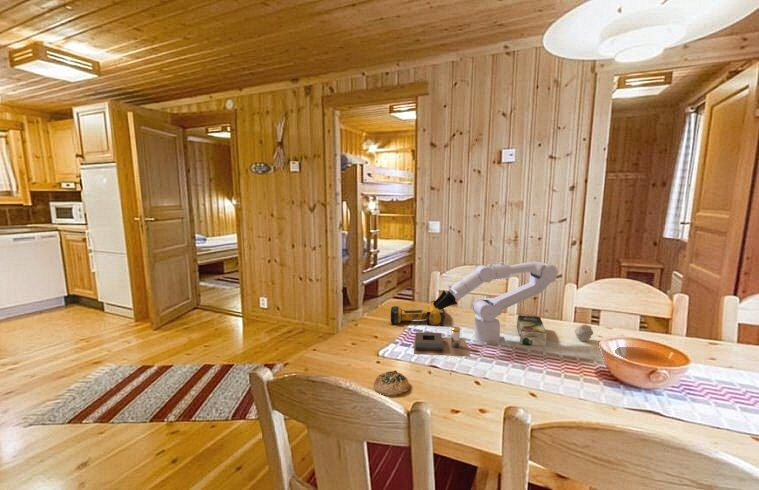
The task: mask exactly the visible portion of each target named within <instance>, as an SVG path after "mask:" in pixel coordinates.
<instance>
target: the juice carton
mask: <svg viewBox="0 0 759 490" xmlns="http://www.w3.org/2000/svg"><path fill="white" fill-rule="evenodd" d="M516 328H517V333H518V336H519V342H520V344H521V345H531V346H535V345H536V346H537V347H538V346H539V347H545V346H546V347H547V340H548V339H547V335H548V334H547V332H546V329H545V326H544V322H543V321H542V318H541V317H540V316H533V315H522V314H518V316H517V321H516Z"/></svg>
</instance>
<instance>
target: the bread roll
mask: <svg viewBox="0 0 759 490" xmlns="http://www.w3.org/2000/svg"><path fill="white" fill-rule="evenodd" d="M410 388H411V386H410V383H409V380H408V378H407V377H406V376H405V375H404V374H403V373H400V372H398V371H397V370H389V371H386V372H384V373H381V374H380V375H378V376H377V377H376V379H375V380H374V382H373V389H374V390H375V392H376V393H377V392H378V393H377V394H379V393H381V394H383V395H382V396H390V397H391V396H393V397H394V396H399V395H402V394H403V393H406V392H407V391H408V390H409V389H410Z"/></svg>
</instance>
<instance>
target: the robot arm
mask: <svg viewBox="0 0 759 490" xmlns="http://www.w3.org/2000/svg"><path fill="white" fill-rule="evenodd" d="M524 273H525V274H526V273H529V281H528V282H527V283H525V284H523V285H521V286H519V287H515V288H514V289H510V291H509V290H508V291H507V292H505V293H503V294H500V295H498V296H496V297H487V298H484V299H483V298H482V299H476V300H474V302H473V304H472V311H473V313H475V315H474V330H473V331H474V335H473V336H474V340H476V341H479V342H481V343H482V342H484V343H488V342H489V343H490V342H500V335H501V326H500V325H501V324H500V321H499V319H497V317H498V316H501V315H502V311H503V310H505V309H507V308H510V307H512V306H514V305H516V304H518V303H520V302H523V301H525V300H528V299H530V298H532V297H535V296H536V295H539V294H541V293H542V292H544V290H545V289H546V288H547V287H548V286H549V285H550V284H551V283H553V282H556V280H557V277H558V267H556V265H553V264H549V263H545V262H543V261H540V260H535V261H534V260H532V261H528V262H522V263H517V264H510V265H509V264H507V263H505V262H503V261H500V262H498V263H495V264H490V263H488V264H487V265H486V266H485V265H483V264H481V265H476V266H475V267H474V268H473V271H472V272H470V273H469V274H467V275H466V276H465V277H463V278H462V279H460V280H459V281H458V282H456V283H455V284H453V285H452V286H451V284H447V287H448V291H446V290H442V291H441V293H440V295H439V296H438V297H437V299H436V300H434V301H435V302H434V303H433V305H434V306H435V308H438V310H441V309H443V308H444V309H445V308H447V307H451V306H455V305H458V302H459V301H460V300H461V299H462V298H464V297H465V296H466V295H468V294H470V293H471V292H472V291H474V290H475V289H477V288H478V287H480V286H481V285H483V284H484V283H491V282H492V281H494V280H499V279H508V278H509V277H510V276H511V275H513V274H514V275H515V274H524Z"/></svg>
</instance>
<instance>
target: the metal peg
mask: <svg viewBox="0 0 759 490" xmlns="http://www.w3.org/2000/svg"><path fill="white" fill-rule="evenodd" d="M450 331H451V334H450V335H451V337H450V338H451V347H453V348H459V341H460V338H461V334H460V333H461V327H458V326H451V330H450Z"/></svg>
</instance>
